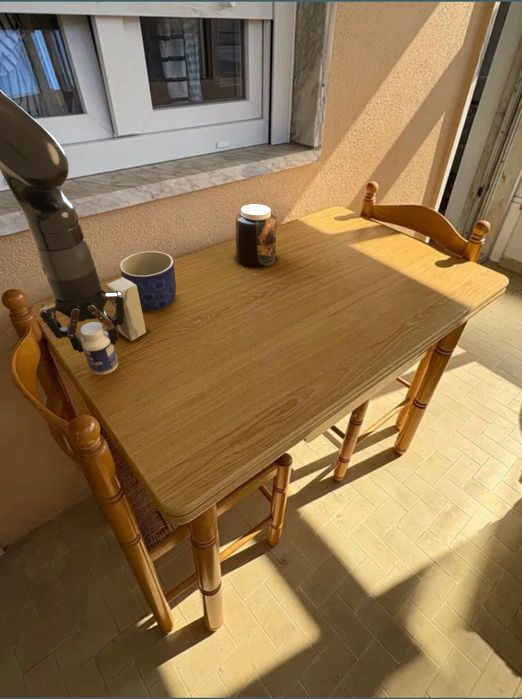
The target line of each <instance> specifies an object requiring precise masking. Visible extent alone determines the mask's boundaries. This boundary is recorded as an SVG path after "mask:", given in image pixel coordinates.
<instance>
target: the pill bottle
mask: <svg viewBox="0 0 522 699" xmlns="http://www.w3.org/2000/svg"><path fill="white" fill-rule="evenodd" d="M103 325H104V324H103V323H101V322H100V321H99V322H98V321H92V322H87V323H85V324H83V325H82V326H81V327H80V330H79V332H80V335H81V338H80V340H81V346H82V349H83V354H84V357H85V359H86V362H87V364H88V367H89V369H90V371H91V372H92V373H93V374H95V375H100V376H102V375H109V374H110V373H112V372H114V371H115V370H116V369H117V367H118V365H119V360H118V356H117V353H116V350H115V347H114V345H112V342H111V339H110V336H109V332H108V331H105V329H104V326H103Z"/></svg>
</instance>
